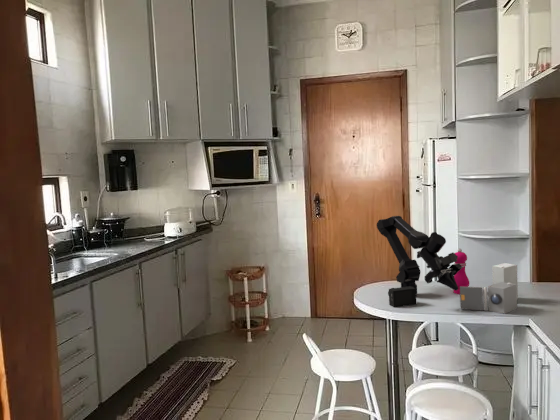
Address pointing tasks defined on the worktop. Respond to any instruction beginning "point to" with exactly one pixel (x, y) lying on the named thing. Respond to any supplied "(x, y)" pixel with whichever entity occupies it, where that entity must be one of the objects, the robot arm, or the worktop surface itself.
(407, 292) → the digital camera
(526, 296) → the worktop surface
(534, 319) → the worktop surface
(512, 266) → the skincare box
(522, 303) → the worktop surface
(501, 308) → the camera housing
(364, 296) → the worktop surface
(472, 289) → the side door
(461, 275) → the pepper mill
